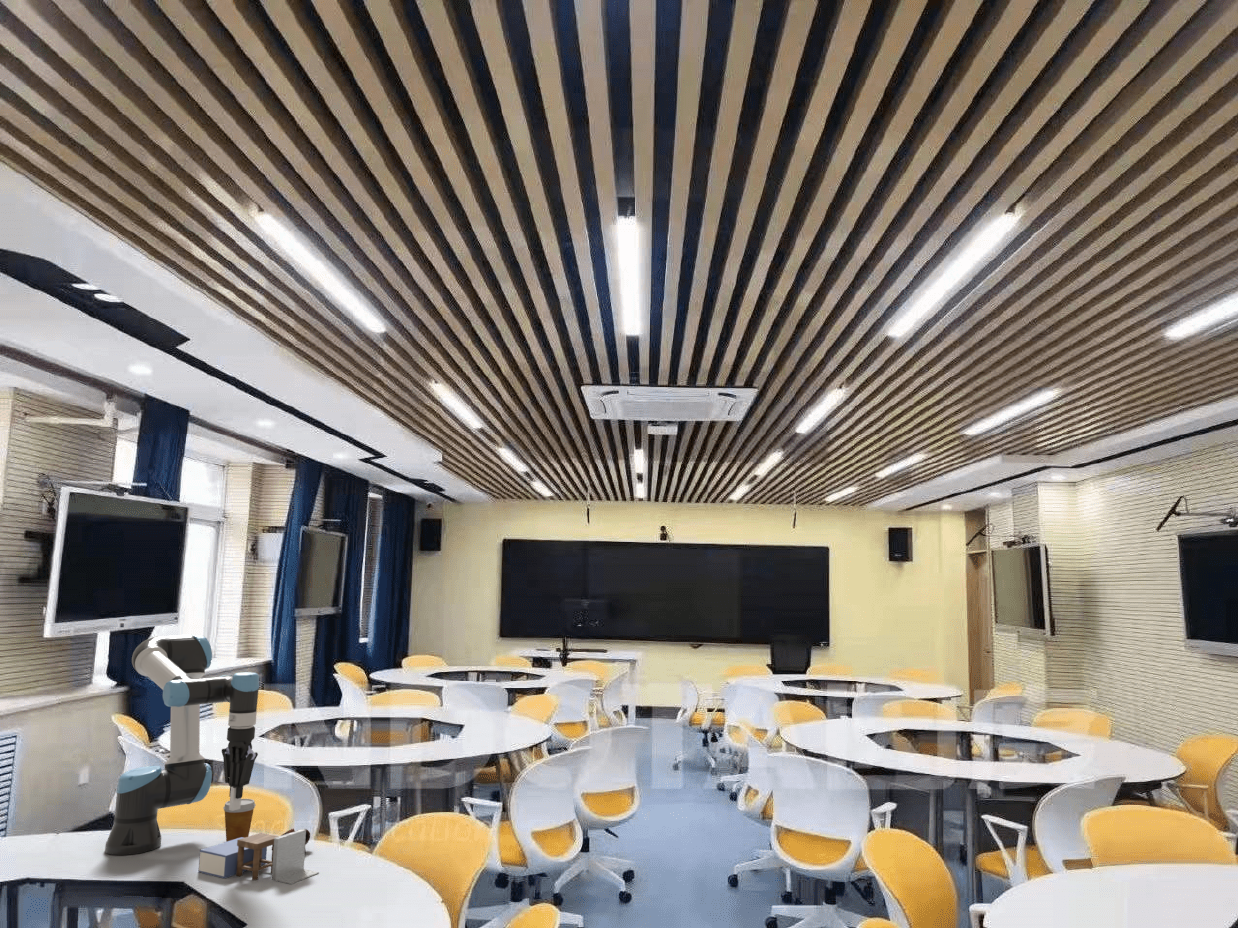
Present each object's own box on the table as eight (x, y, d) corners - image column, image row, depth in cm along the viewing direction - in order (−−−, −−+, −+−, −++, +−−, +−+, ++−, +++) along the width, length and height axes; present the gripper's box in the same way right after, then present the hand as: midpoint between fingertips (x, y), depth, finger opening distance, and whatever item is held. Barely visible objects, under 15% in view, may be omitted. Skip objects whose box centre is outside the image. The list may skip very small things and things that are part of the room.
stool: (237, 839, 238) (257, 843, 234) (260, 832, 245) (280, 836, 241) (234, 875, 237) (254, 880, 233) (258, 867, 244) (278, 871, 240)
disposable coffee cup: (258, 837, 272) (261, 798, 274) (243, 846, 263) (245, 806, 265) (231, 836, 273) (233, 797, 275) (214, 845, 264) (217, 805, 266)
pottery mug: (291, 862, 250) (279, 837, 251) (273, 871, 254) (261, 847, 255) (322, 841, 260) (310, 817, 261) (304, 850, 264) (292, 826, 266)
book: (198, 871, 239) (199, 849, 240) (240, 858, 252) (241, 836, 252) (224, 878, 234) (225, 855, 235) (265, 863, 247) (267, 842, 248)
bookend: (271, 879, 234) (274, 837, 235) (299, 869, 242) (302, 829, 244) (290, 884, 230) (293, 841, 232) (318, 873, 239) (321, 832, 241)
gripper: (215, 725, 249) (208, 808, 246) (246, 730, 243) (239, 815, 240) (237, 722, 255) (230, 802, 252) (267, 726, 249) (260, 809, 246)
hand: (234, 809), depth 246 cm, fingers closed
